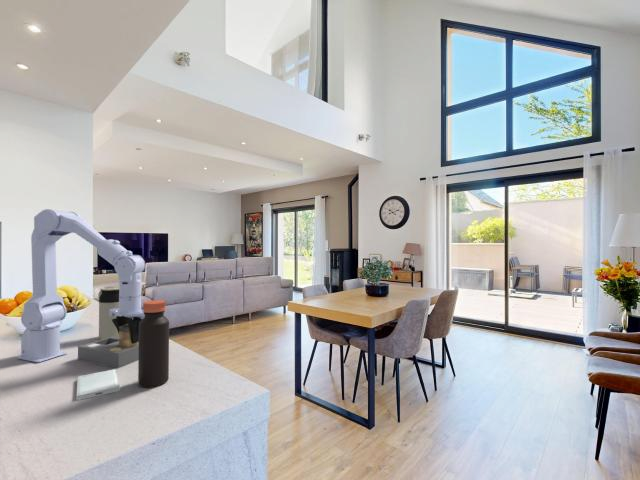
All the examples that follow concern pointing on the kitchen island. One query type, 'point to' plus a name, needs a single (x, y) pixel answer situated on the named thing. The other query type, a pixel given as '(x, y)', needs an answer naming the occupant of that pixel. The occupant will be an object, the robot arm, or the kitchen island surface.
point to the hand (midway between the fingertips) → (129, 341)
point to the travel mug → (107, 302)
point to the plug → (125, 337)
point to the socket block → (108, 353)
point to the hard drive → (97, 384)
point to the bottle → (153, 345)
